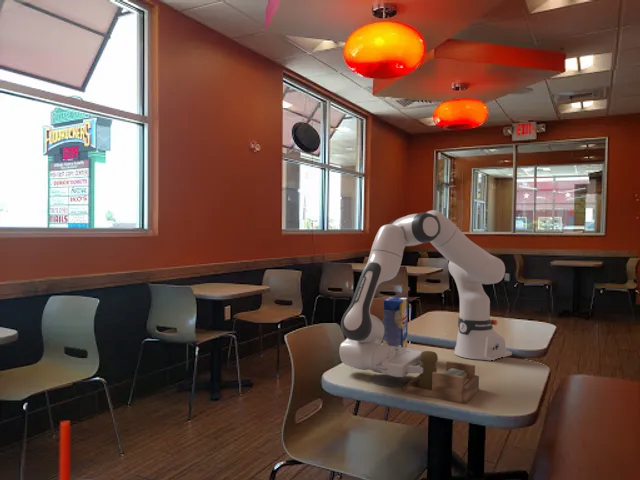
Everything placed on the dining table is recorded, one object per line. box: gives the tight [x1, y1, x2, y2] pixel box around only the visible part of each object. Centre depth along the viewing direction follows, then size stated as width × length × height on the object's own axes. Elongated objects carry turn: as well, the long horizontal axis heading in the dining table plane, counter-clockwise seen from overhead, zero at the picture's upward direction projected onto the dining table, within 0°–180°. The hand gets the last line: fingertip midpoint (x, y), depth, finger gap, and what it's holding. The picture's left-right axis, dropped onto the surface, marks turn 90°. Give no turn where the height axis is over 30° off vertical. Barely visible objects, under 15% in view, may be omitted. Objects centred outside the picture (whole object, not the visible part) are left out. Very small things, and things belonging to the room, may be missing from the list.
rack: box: [403, 360, 480, 405], centre depth 145 cm, size 18×15×7 cm
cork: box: [417, 350, 439, 390], centre depth 147 cm, size 6×6×11 cm
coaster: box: [370, 373, 406, 387], centre depth 154 cm, size 11×11×1 cm
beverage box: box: [382, 296, 409, 348], centre depth 181 cm, size 7×11×22 cm, turn 159°
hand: (428, 366), depth 147 cm, fingers open, 8 cm apart
